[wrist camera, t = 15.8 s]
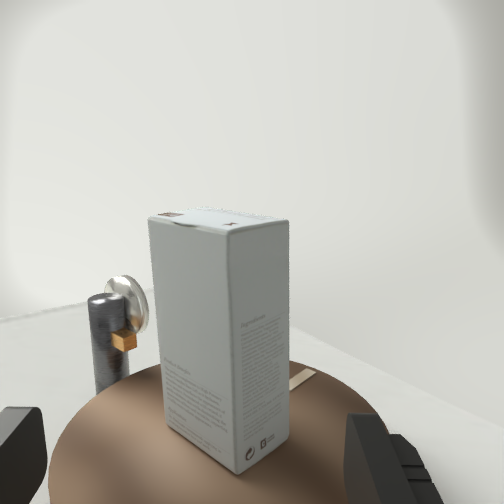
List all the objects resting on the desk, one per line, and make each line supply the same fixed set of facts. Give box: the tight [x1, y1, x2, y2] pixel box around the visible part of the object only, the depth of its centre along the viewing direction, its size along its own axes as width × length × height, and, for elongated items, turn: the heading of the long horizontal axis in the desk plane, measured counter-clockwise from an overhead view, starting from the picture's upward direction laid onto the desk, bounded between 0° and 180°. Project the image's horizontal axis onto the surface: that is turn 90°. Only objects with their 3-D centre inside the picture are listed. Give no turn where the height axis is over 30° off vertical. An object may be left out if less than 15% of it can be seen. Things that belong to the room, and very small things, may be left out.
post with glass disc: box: [88, 275, 149, 396], centre depth 31 cm, size 5×3×9 cm, turn 49°
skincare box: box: [148, 207, 289, 475], centre depth 23 cm, size 6×4×12 cm
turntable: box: [48, 361, 389, 504], centre depth 24 cm, size 18×18×2 cm
